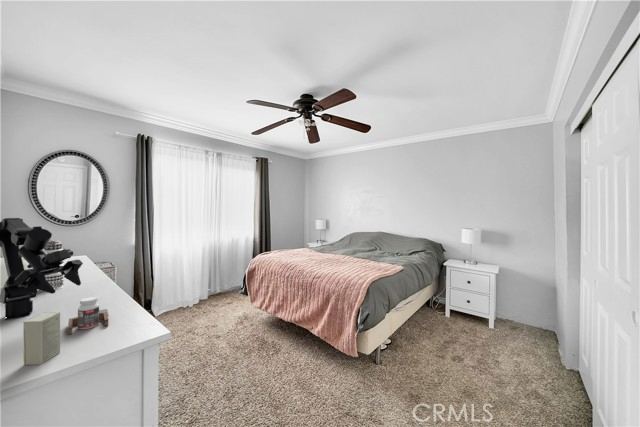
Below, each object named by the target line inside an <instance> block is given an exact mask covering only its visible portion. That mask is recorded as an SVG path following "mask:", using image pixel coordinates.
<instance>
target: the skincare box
mask: <svg viewBox="0 0 640 427" xmlns="http://www.w3.org/2000/svg"><path fill="white" fill-rule="evenodd" d="M60 353H61V312H58V311H57V312H54V311H53V312H43V313H40V314H38V315H36V316H34V317H30V318H29V319H26V320H24V321H23V366H27V365H28V366H30V365H31V366H33V365H34V366H35V365H36V366H37V365H42V364H44V363H45V362H47V361H48V360H50V359H51V358H53V357H56V355H58V354H60Z"/></svg>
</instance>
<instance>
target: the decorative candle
mask: <svg viewBox="0 0 640 427" xmlns="http://www.w3.org/2000/svg"><path fill="white" fill-rule="evenodd" d="M44 249H45V250H46V251H47V252H48V253H53V252H55V251H60V250H64V248H63V242H62V241H60V240H58V239H54V240H53V239H52V240H51V239H50V241H49V243H48V245H47V247H46V248H44ZM61 266H64V263H62V264H60V267H61ZM45 279H46V280H47V281H48V283H49V284H50V285H51V286H52V287H53V288H54V290H55V291H57V290H60V289H63V288H64V281H65V280H63V279H64V275H62V274H61V273H60V272H59V273H55V274H50V275H45ZM39 291H40V292H42V291H41V290H39Z"/></svg>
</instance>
